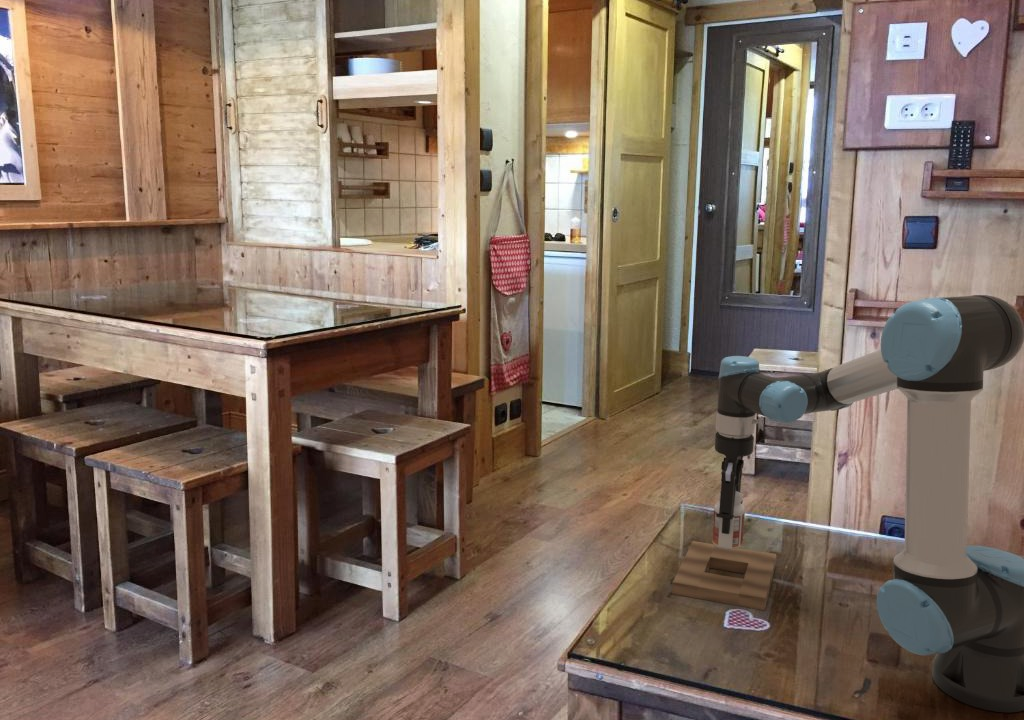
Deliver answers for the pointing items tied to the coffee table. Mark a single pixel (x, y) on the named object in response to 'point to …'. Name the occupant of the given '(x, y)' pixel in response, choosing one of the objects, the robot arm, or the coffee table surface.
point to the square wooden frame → (724, 588)
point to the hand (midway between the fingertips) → (727, 540)
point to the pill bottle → (738, 522)
